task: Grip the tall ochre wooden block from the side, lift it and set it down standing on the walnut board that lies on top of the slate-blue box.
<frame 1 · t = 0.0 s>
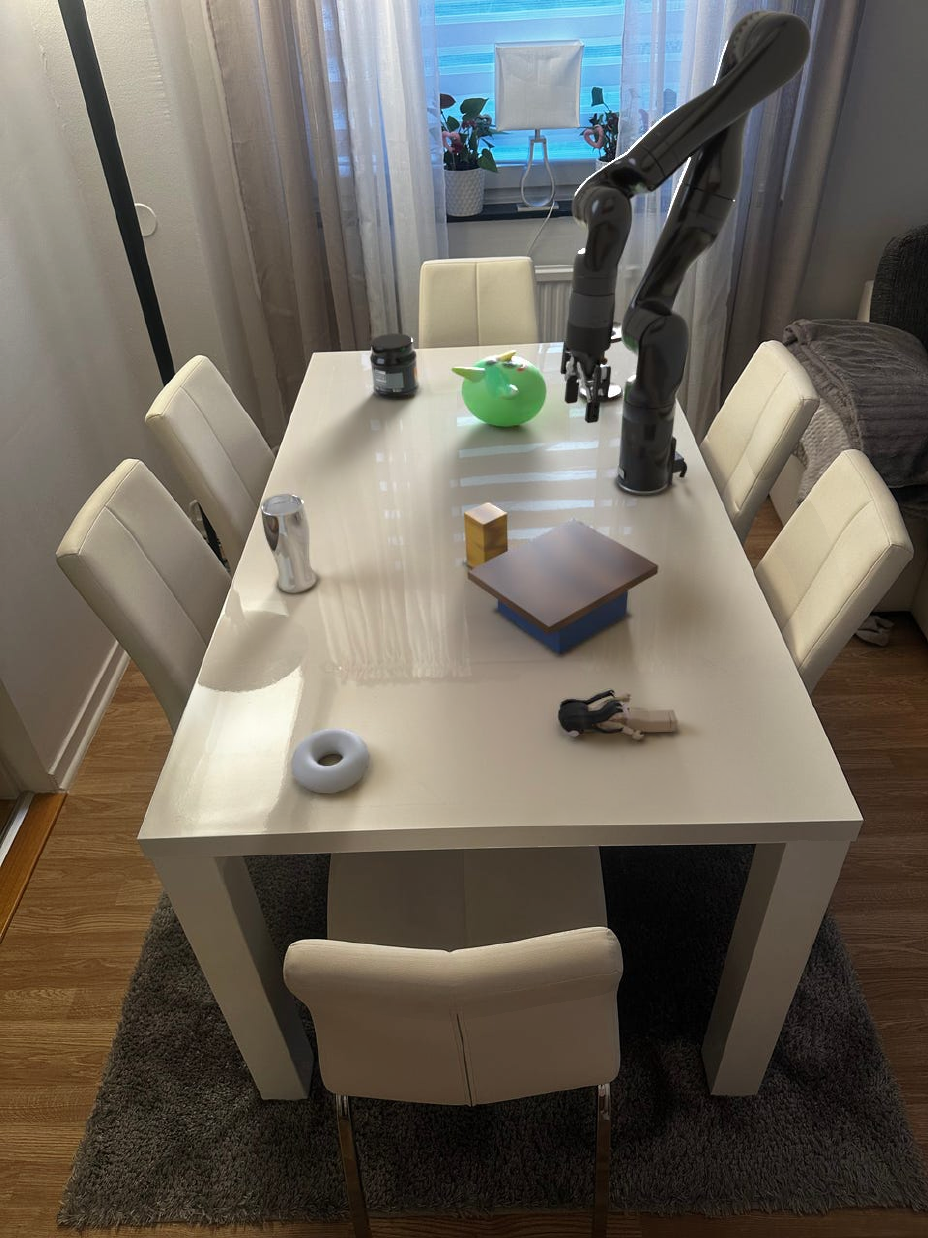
hand: (580, 411, 154), 17 cm above the table, tool pointing down, fingers open, 8 cm apart
supplement container: (396, 392, 206), on the table
blue box: (561, 613, 138), on the table
toy figure: (614, 727, 118), on the table
beer glass: (297, 583, 148), on the table
donut: (332, 770, 115), on the table
candlestick: (599, 393, 200), on the table
toy bird: (503, 423, 191), on the table
board: (562, 572, 133), on the blue box, point 7 cm above the table
block: (487, 564, 149), on the table
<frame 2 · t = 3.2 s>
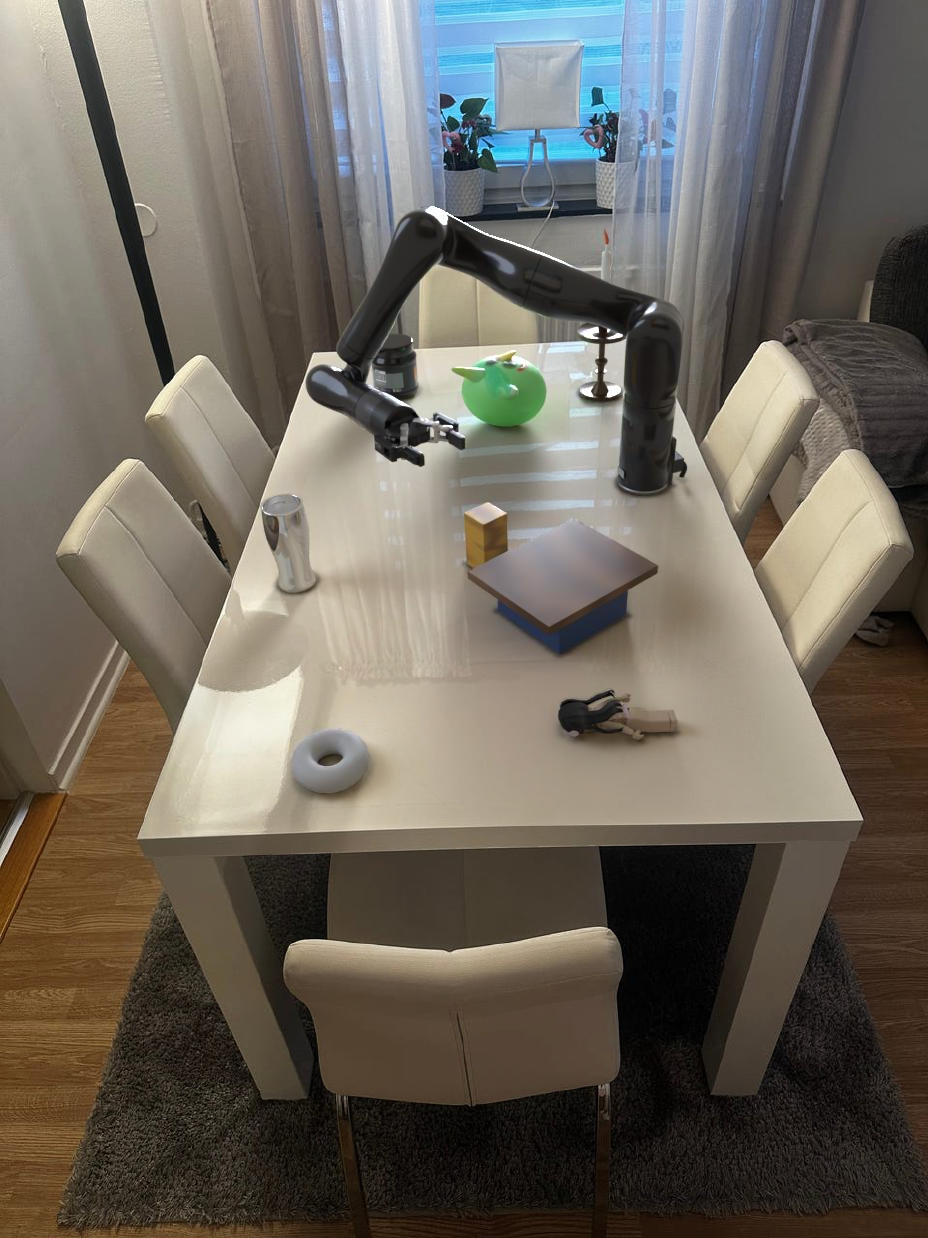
hand: (443, 452, 146), 17 cm above the table, tool horizontal, fingers open, 8 cm apart
nothing on the table moved.
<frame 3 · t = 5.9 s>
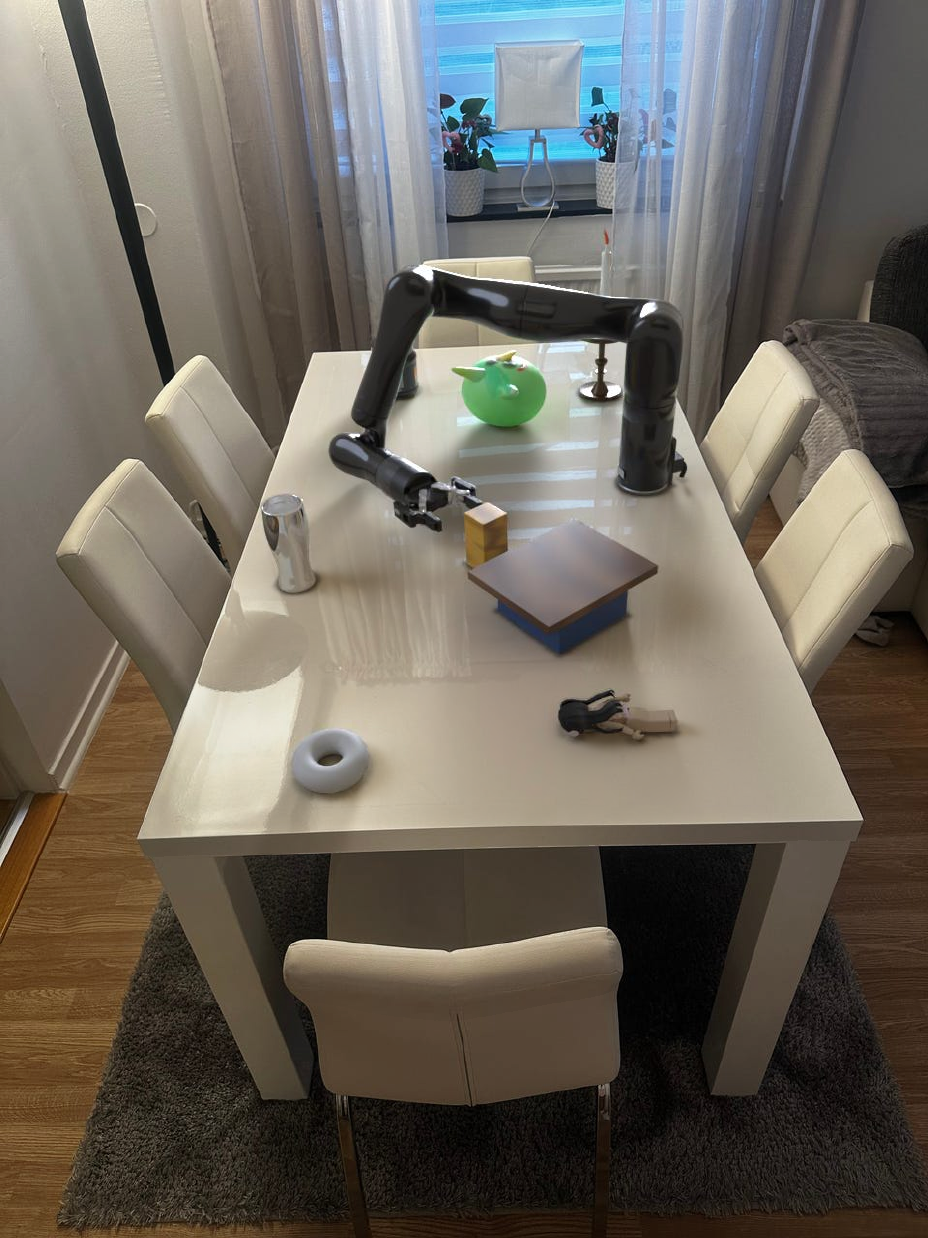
hand: (460, 517, 150), 6 cm above the table, tool horizontal, fingers open, 8 cm apart
nothing on the table moved.
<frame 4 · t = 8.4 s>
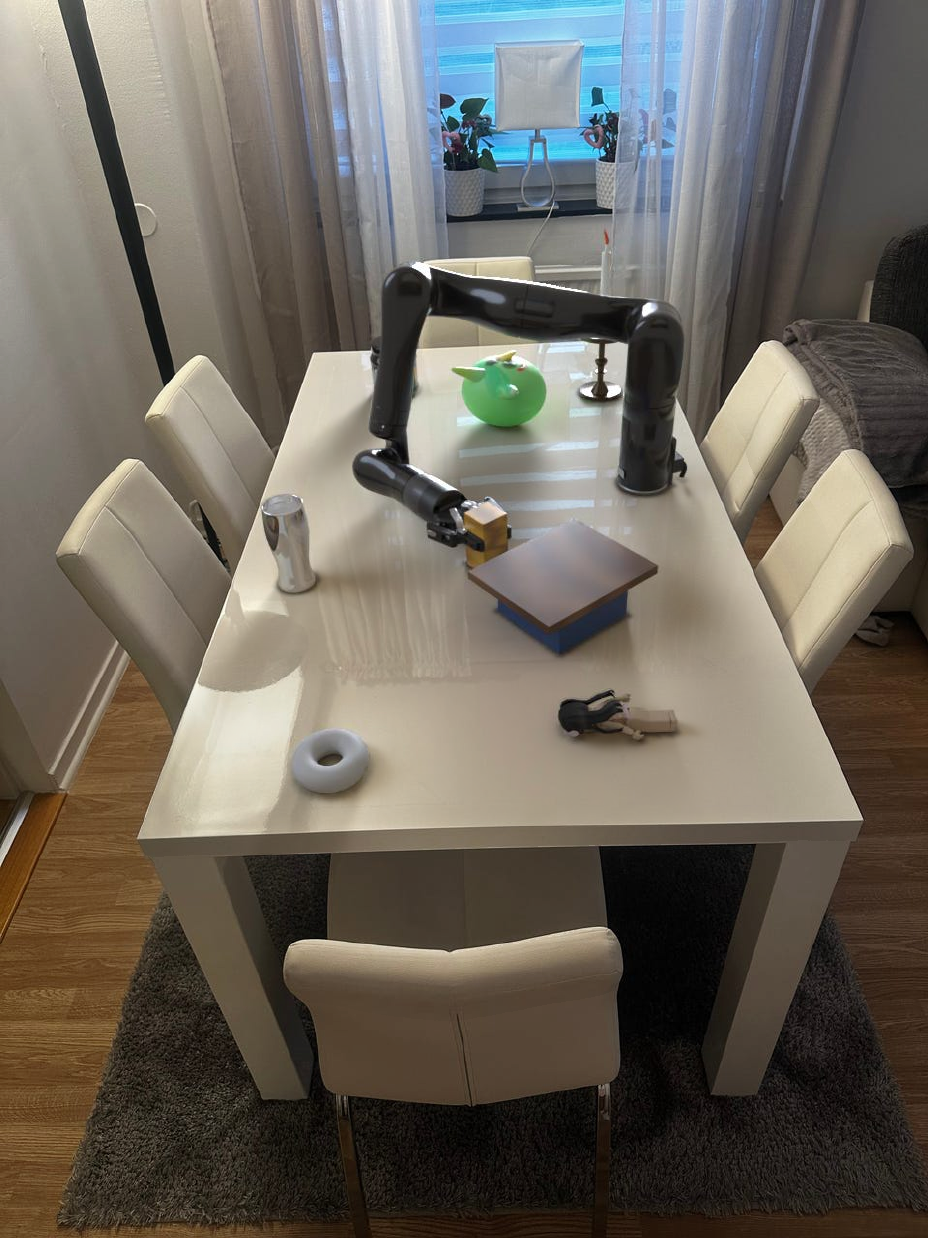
hand: (496, 540, 144), 6 cm above the table, tool horizontal, fingers closed on block, 5 cm apart
block: (487, 564, 149), on the table, touching gripper
everything else where it was.
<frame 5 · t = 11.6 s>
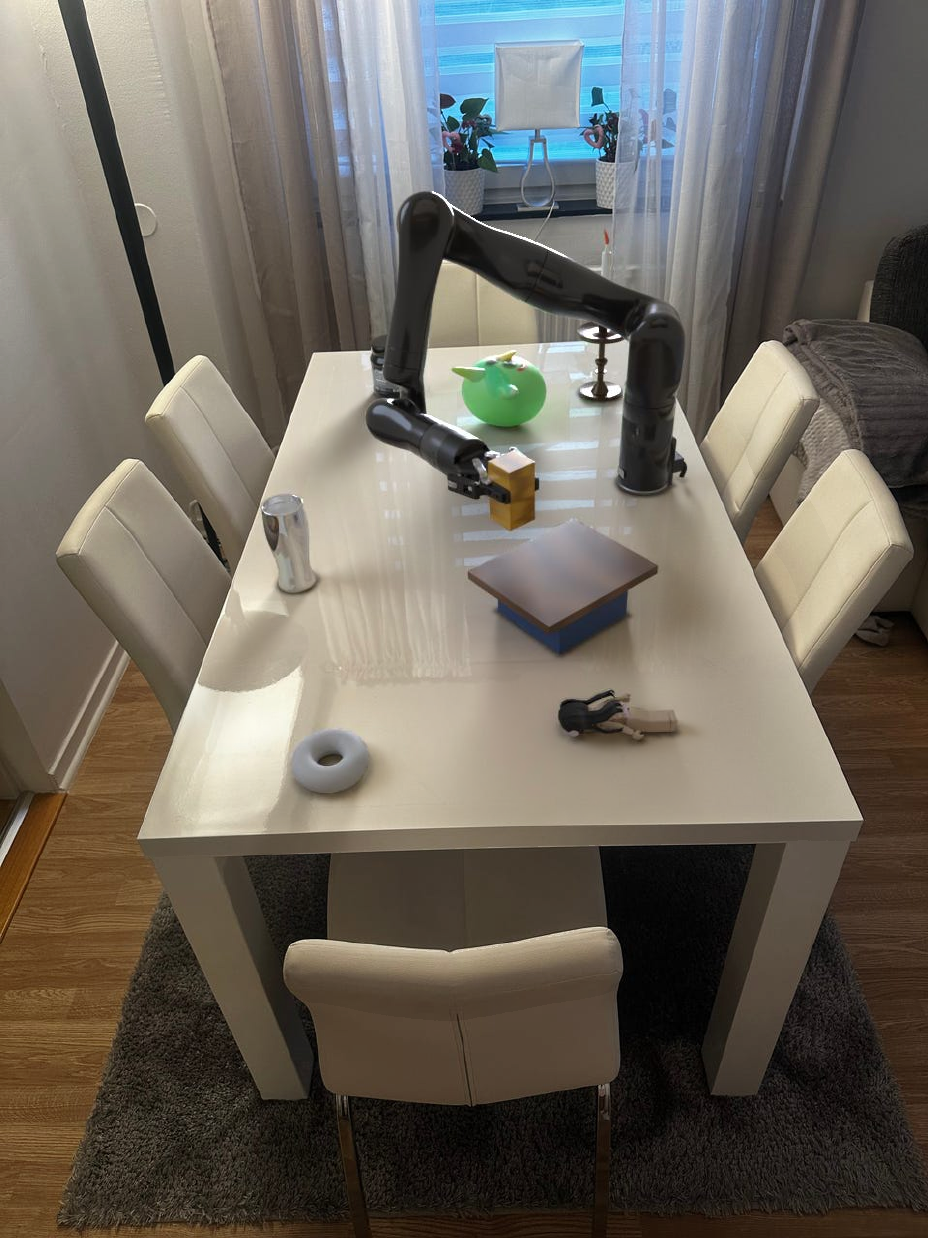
hand: (523, 491, 132), 18 cm above the table, tool horizontal, fingers closed on block, 5 cm apart
block: (512, 519, 138), point 12 cm above the table, touching gripper
everything else where it was.
when the fingers open (15 cm above the table, at t = 14.9 s): block stays where it is, resting on board.
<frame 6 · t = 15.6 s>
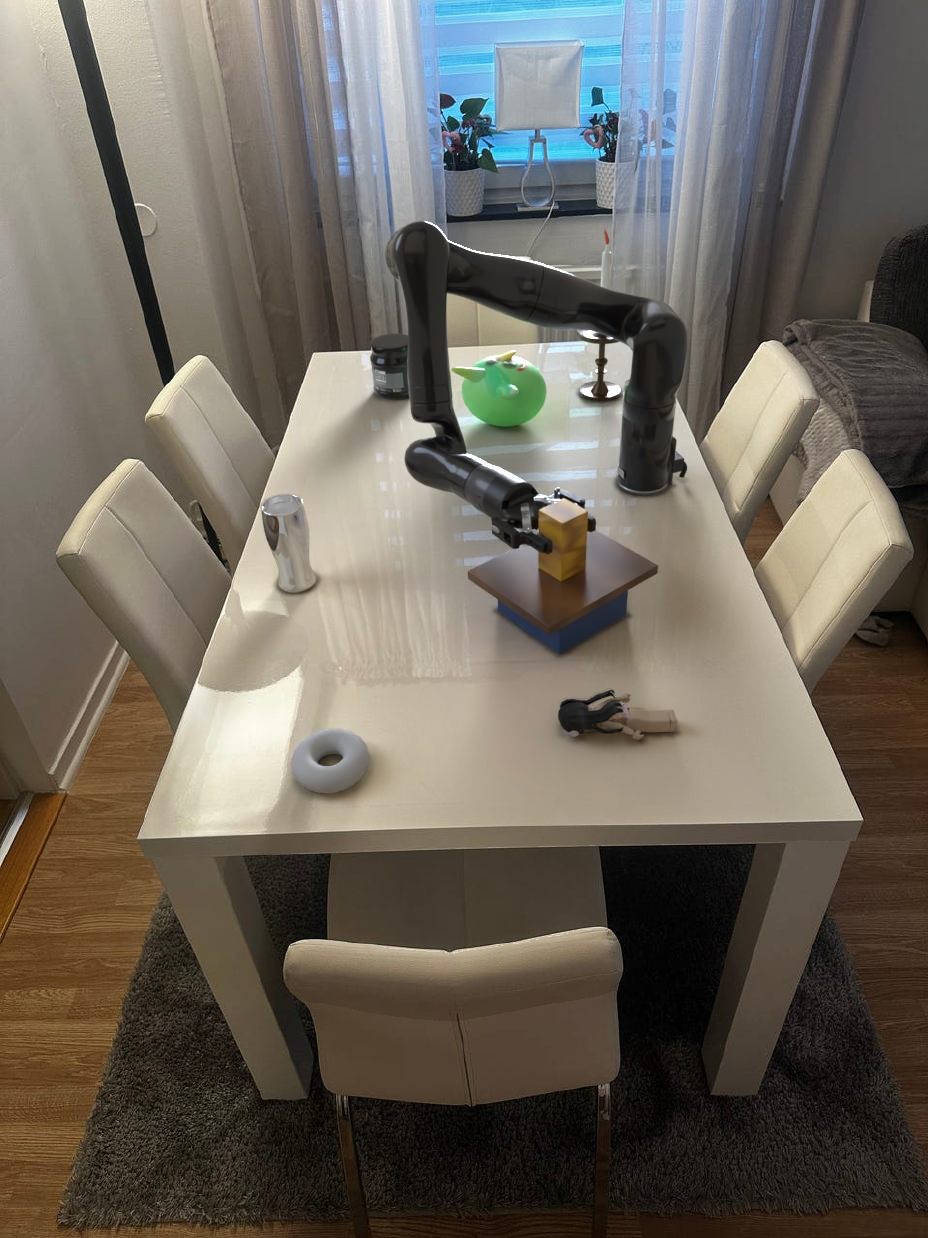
hand: (572, 536, 128), 15 cm above the table, tool horizontal, fingers open, 8 cm apart
block: (561, 568, 133), point 8 cm above the table, touching board
everything else where it was.
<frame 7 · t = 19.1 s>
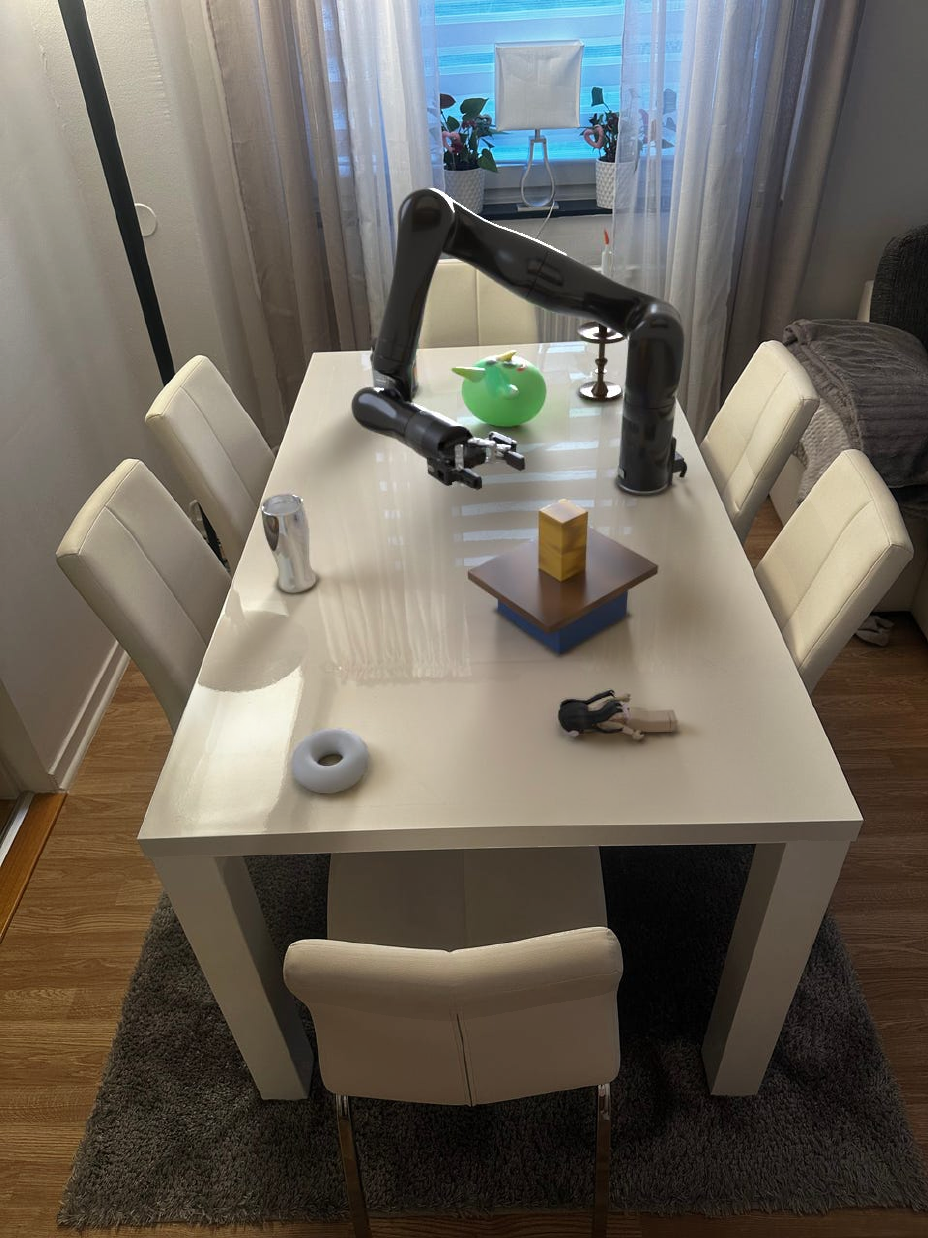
hand: (502, 474, 136), 18 cm above the table, tool horizontal, fingers open, 8 cm apart
nothing on the table moved.
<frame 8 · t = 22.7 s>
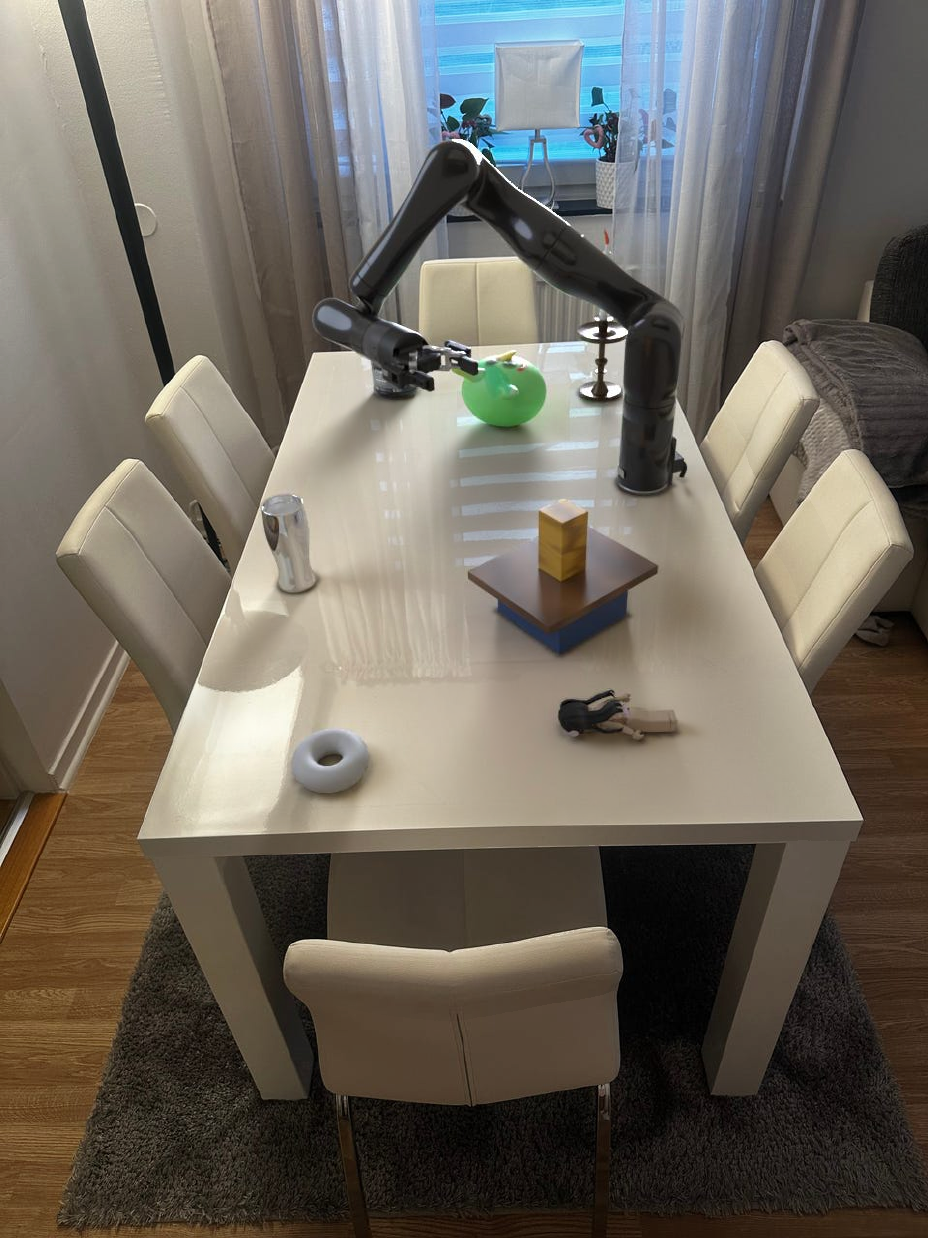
hand: (455, 376, 137), 30 cm above the table, tool horizontal, fingers open, 8 cm apart
nothing on the table moved.
at the end: block inside the target area on the board (0.1 cm from its centre), point 8.5 cm above the board's base; block tilted 0°; the gripper is holding nothing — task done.
